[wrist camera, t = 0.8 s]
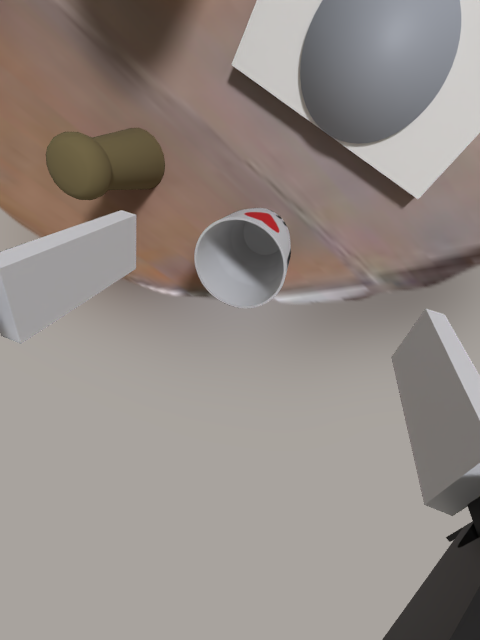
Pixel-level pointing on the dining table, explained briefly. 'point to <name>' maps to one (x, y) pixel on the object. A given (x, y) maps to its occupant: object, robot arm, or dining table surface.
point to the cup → (244, 257)
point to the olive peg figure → (104, 162)
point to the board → (375, 76)
